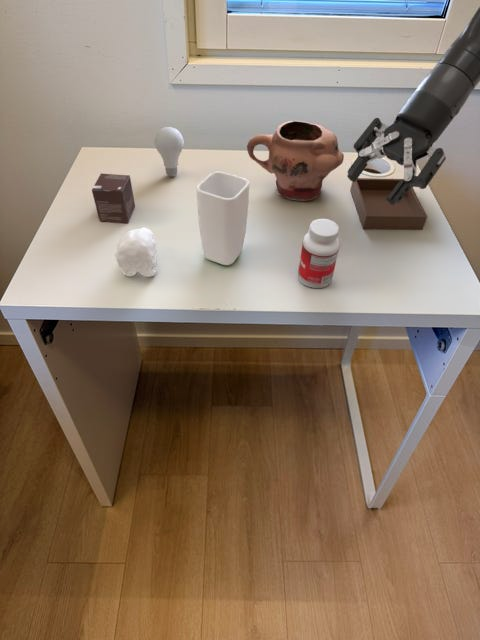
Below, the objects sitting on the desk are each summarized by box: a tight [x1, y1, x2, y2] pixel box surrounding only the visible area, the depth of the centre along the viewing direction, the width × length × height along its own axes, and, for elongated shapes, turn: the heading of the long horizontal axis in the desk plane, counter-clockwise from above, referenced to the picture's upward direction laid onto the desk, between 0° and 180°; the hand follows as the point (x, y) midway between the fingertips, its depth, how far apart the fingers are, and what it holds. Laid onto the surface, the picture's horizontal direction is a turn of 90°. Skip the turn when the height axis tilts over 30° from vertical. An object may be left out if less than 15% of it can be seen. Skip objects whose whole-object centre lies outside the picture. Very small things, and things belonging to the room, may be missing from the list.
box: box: [91, 173, 136, 224], centre depth 92 cm, size 6×6×7 cm
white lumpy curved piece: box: [114, 226, 157, 278], centre depth 82 cm, size 6×8×12 cm
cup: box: [196, 170, 250, 266], centre depth 81 cm, size 7×7×15 cm
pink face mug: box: [246, 120, 345, 201], centre depth 98 cm, size 20×12×14 cm, turn 87°
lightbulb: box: [154, 126, 185, 178], centre depth 101 cm, size 6×6×11 cm
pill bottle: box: [297, 218, 341, 289], centre depth 79 cm, size 6×6×11 cm
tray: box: [350, 177, 428, 231], centre depth 98 cm, size 14×12×3 cm
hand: (369, 190), depth 77 cm, fingers open, 8 cm apart
